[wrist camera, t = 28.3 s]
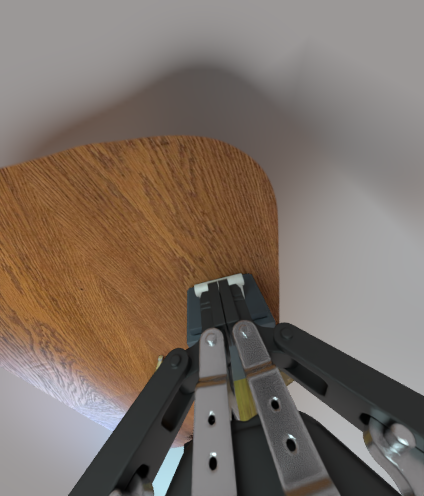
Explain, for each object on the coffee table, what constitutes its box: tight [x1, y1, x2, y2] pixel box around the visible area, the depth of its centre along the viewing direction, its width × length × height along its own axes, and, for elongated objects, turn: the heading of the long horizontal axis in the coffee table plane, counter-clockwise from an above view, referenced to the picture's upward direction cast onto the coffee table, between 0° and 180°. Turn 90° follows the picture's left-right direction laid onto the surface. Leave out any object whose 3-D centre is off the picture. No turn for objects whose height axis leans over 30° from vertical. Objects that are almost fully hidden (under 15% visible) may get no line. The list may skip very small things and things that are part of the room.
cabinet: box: [187, 274, 278, 381], centre depth 30 cm, size 13×12×10 cm
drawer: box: [189, 273, 268, 335], centre depth 28 cm, size 16×11×8 cm, turn 13°
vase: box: [234, 378, 257, 421], centre depth 34 cm, size 6×6×14 cm
